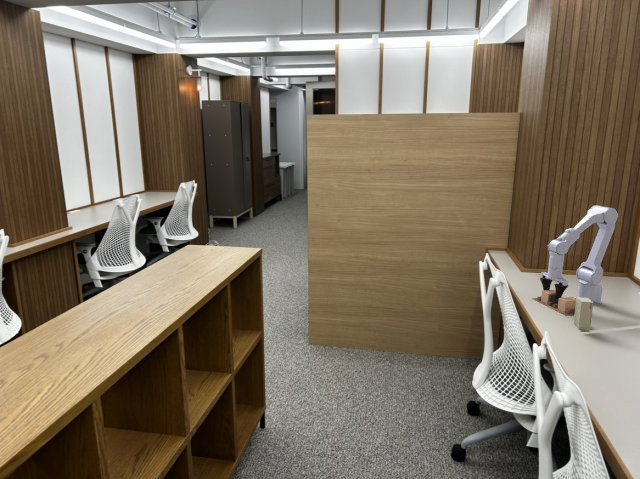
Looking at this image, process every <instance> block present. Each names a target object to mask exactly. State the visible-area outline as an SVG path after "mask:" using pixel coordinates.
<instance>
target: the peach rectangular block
mask: <svg viewBox="0 0 640 479" xmlns="http://www.w3.org/2000/svg"><path fill="white" fill-rule="evenodd" d="M558 300H559V299H556V289H550V290H545V291H543V290H541V302H543V303H545V304H548V302H553V301H558Z"/></svg>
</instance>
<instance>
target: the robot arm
mask: <svg viewBox="0 0 640 479" xmlns="http://www.w3.org/2000/svg"><path fill="white" fill-rule="evenodd" d="M618 218H619V214H618V212H617V210H616V208H614V207H607V206H602V205H597V204H596V205H593V206H591V207H590V209H588V210H587V214H586V215H585V216H584V217H583V218H582V219H581V220H580V221H579V222H577V224H576V225H575V226H574V227H573V228H570V227H569V228H567V229H565V231H564V232H563V233H562V234H560V235H559V236H558V237H557V238H556V239H552V240H551V241H550V242H549V243H548V244H547V250H548V254H549V258H548V266H547V267H548V268H547V272H546V271H541V274H540V277H539V280H540V282H541V285H542V289H543V290H542V291H545V290H551V285H552V282H556V283H554V288H555V289H554V290H556V299H559V298H561V297H563V294H564V292H565V291H566V290H567V288H569V281H568V280H567V279H566V278H564V277H563V268H564V262H565V254H567V253H568V252H569V250H570V249H569V248H571V245H573V244H574V243H575V242H576V241H577V240H579V239H580V234H581V233H583V232H584V231H585V230H586V229H587V228H589V227H591V226H592V225H594V224H597V226H598V227H599V229H598V232H597V235H596V237H595V239H594V241H593V245H592V247H591V250H590V251H589V255H588V257H587V259H586V261H583V262H581V264H580V266H579V267H578V268H577V270H576V271H575V272H576V273H575V276H576V278H577V279H578V280H577V281H578V287H577V295H576V298H577V297H583V298H589V299H590V300H591V301H592V302H593V303H597V304H603V302H602V296H603V286H602V285H601V282H602V280H603V276H604V272H605V271H604V268H603V267H602V266H601V264H602V261H603V259H604V256H605V253H606V251H607V249H608V246H609V244H610V241H611V239H612V236H613V234H614V231H615V228H616V222H617V220H618Z"/></svg>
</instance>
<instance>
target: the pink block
mask: <svg viewBox="0 0 640 479" xmlns="http://www.w3.org/2000/svg"><path fill="white" fill-rule="evenodd" d="M576 299H577V297H576V298H575V297H574V296H569V297H563V298H559V300H558V310H560V311H562V312H566V310H574V309H575V307H576Z"/></svg>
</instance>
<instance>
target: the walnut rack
mask: <svg viewBox="0 0 640 479" xmlns="http://www.w3.org/2000/svg"><path fill="white" fill-rule="evenodd" d="M541 296H542V295H541ZM541 296H540V295H539V296H537V297H532V298H531V300H533V301H535V302H538V303H539V304H542V305H543V306H545V307H547V308H549V309H552V310H553V311H555V312H557V313H559V314H561V315H563V316H565V317H571V316H575V309H574V310H566V312H562V311H560V310H558V301H553V302H548V304H545V303H543V302H541ZM561 298H564V297H563V296H562V297H561Z"/></svg>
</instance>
